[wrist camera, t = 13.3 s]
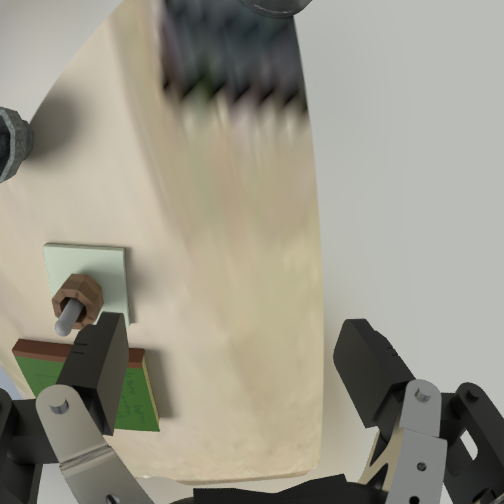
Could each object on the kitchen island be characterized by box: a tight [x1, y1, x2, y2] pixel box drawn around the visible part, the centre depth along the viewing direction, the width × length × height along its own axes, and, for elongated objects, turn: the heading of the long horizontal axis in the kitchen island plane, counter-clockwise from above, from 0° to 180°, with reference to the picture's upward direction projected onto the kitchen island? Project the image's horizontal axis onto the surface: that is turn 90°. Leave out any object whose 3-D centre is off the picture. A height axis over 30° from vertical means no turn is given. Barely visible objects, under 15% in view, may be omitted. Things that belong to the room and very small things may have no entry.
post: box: [43, 244, 130, 336], centre depth 34 cm, size 12×12×11 cm
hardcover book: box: [12, 339, 160, 432], centre depth 45 cm, size 25×19×4 cm
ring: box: [52, 273, 104, 330], centre depth 35 cm, size 6×6×4 cm
